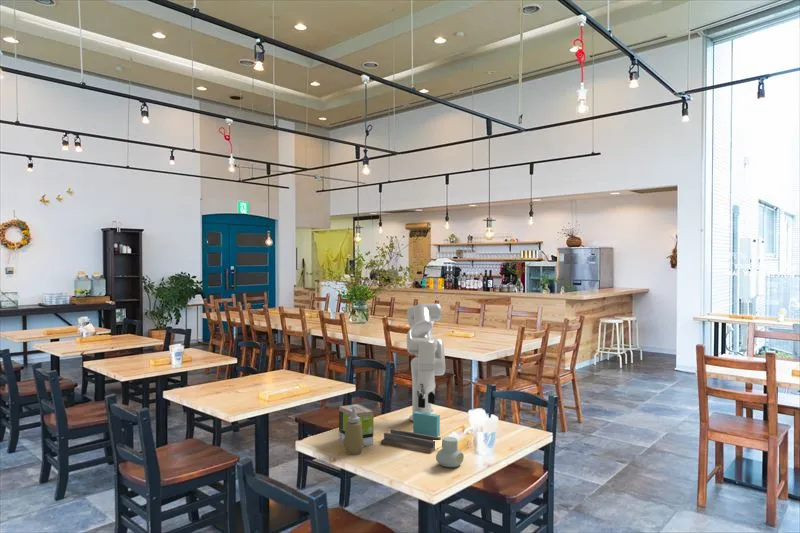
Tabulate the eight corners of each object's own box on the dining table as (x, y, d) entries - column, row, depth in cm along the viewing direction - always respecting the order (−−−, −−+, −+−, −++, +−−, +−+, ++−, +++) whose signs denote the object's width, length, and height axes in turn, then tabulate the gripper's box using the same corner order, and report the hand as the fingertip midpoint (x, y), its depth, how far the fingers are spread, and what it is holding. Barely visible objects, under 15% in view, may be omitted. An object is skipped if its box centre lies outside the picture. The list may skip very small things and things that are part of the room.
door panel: (416, 433, 243) (416, 411, 244) (439, 437, 238) (439, 415, 238) (413, 434, 241) (413, 412, 241) (436, 439, 235) (436, 416, 235)
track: (394, 436, 238) (394, 427, 238) (443, 445, 226) (443, 435, 226) (380, 443, 228) (380, 434, 228) (430, 453, 216) (430, 443, 216)
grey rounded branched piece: (452, 471, 196) (452, 444, 196) (433, 467, 201) (433, 440, 201) (465, 463, 205) (465, 437, 205) (447, 458, 210) (447, 433, 210)
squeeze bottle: (341, 450, 219) (341, 407, 219) (359, 448, 222) (359, 405, 222) (347, 457, 211) (347, 412, 211) (366, 454, 214) (366, 410, 215)
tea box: (374, 444, 227) (374, 410, 227) (353, 448, 221) (353, 413, 221) (358, 435, 239) (358, 402, 240) (338, 439, 234) (338, 405, 234)
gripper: (427, 364, 249) (427, 400, 248) (410, 369, 234) (410, 408, 233) (442, 365, 245) (442, 402, 244) (425, 370, 230) (425, 410, 229)
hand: (426, 405), depth 239 cm, fingers open, 9 cm apart
